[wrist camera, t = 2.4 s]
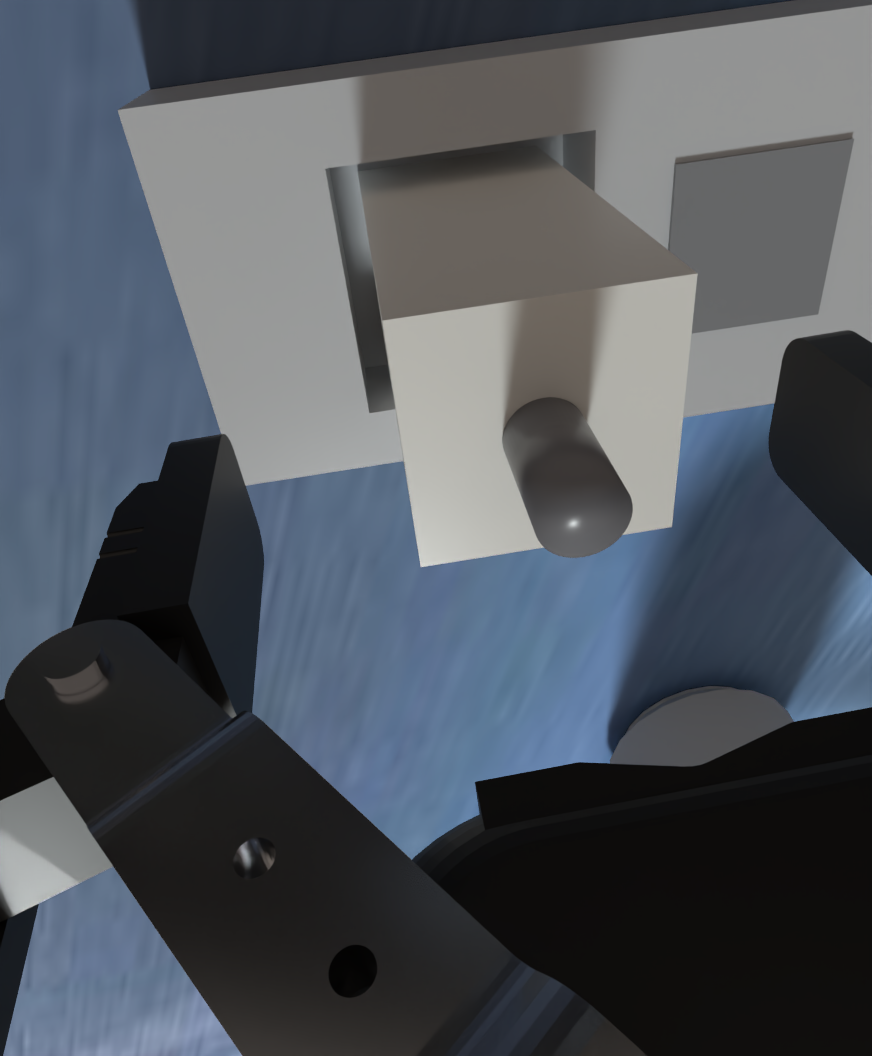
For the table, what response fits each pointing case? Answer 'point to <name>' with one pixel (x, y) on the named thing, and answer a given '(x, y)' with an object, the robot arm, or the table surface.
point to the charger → (527, 355)
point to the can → (699, 726)
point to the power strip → (502, 124)
